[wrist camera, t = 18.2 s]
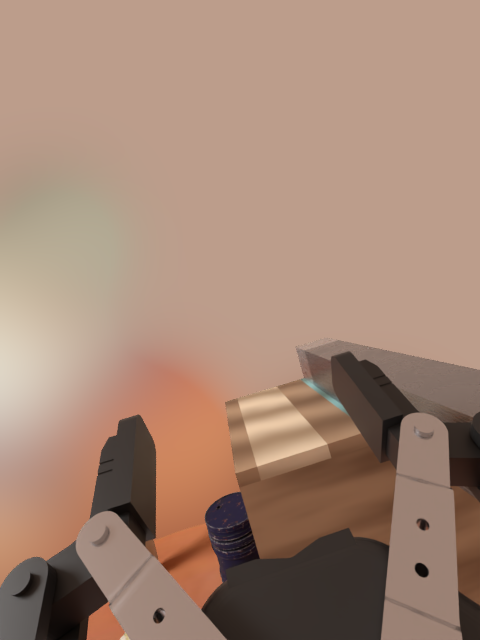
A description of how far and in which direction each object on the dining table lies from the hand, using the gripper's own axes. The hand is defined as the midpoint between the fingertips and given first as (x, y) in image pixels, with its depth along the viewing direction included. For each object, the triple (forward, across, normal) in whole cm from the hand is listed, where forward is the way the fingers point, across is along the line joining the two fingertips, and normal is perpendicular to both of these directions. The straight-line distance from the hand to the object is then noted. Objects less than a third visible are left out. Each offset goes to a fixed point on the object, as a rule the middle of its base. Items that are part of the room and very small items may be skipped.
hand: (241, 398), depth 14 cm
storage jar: (+16, -6, -61) cm, 64 cm away
